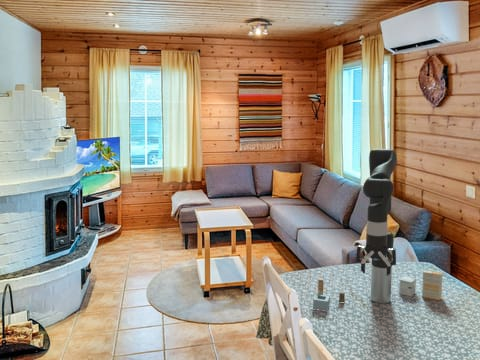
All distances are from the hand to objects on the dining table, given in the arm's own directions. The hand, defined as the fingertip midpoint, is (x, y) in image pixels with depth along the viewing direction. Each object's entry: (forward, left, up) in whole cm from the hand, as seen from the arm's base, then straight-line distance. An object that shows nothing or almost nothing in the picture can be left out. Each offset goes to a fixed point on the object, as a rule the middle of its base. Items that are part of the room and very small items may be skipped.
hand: (375, 273), depth 168 cm
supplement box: (-54, +23, -29) cm, 65 cm away
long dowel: (-35, -27, -29) cm, 52 cm away
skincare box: (-56, +12, -29) cm, 64 cm away
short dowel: (-35, -17, -29) cm, 48 cm away
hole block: (-26, -25, -29) cm, 46 cm away
